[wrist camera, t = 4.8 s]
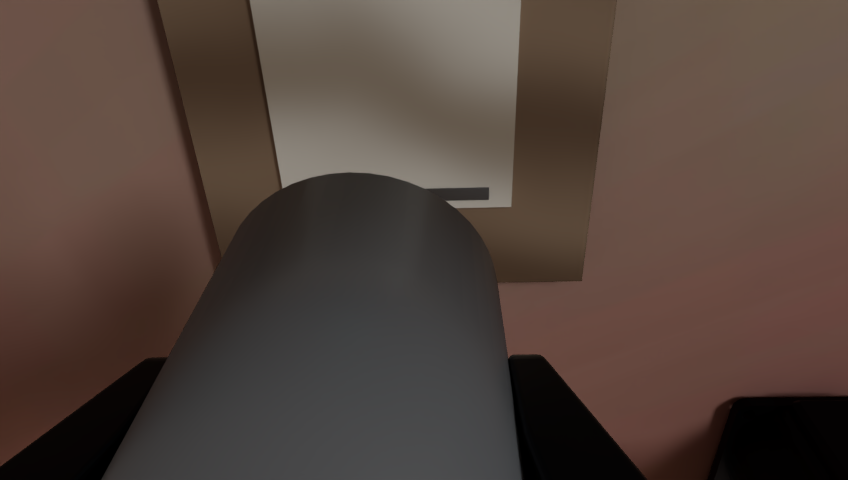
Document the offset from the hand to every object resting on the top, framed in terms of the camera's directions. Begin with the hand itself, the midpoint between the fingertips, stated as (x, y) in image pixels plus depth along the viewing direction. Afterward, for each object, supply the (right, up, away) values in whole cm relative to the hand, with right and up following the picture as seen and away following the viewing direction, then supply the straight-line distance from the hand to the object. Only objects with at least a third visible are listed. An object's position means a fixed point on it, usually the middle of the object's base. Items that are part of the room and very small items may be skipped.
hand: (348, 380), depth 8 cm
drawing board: (0, +6, +10) cm, 12 cm away
